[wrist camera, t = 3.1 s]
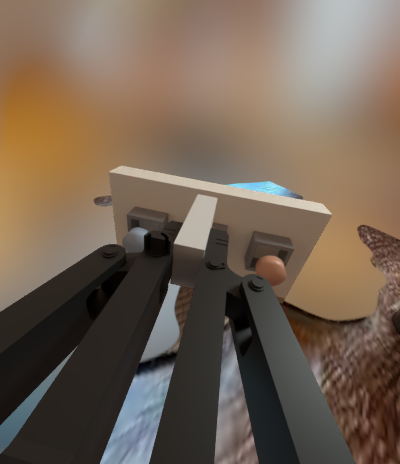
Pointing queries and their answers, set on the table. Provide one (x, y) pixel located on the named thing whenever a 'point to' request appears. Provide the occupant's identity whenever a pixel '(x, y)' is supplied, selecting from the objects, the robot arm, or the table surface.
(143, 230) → the slate button
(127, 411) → the table surface
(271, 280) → the terracotta button
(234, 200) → the button panel
